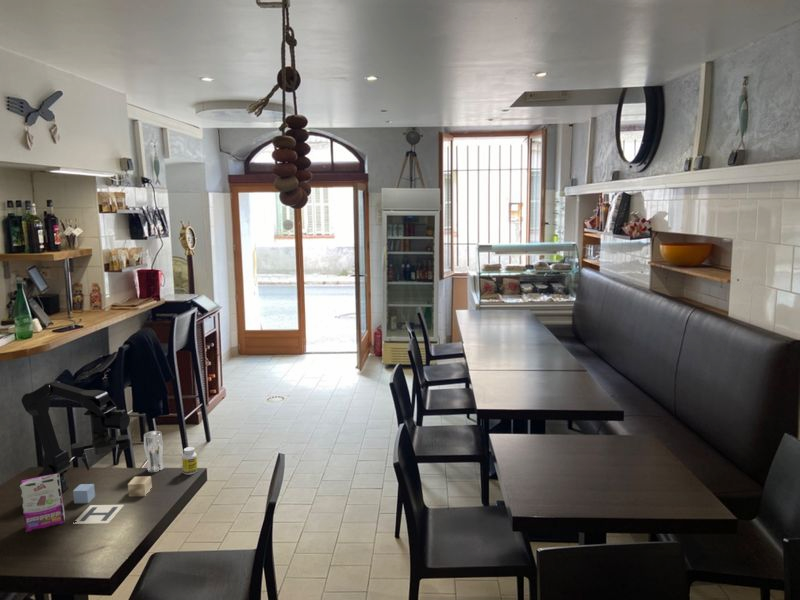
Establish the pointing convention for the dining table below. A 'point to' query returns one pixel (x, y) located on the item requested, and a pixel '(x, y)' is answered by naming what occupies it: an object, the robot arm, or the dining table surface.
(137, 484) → the oak block
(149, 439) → the beer glass
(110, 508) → the letter board
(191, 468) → the supplement bottle
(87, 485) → the blue cube
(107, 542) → the dining table surface
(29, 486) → the candy bar box
